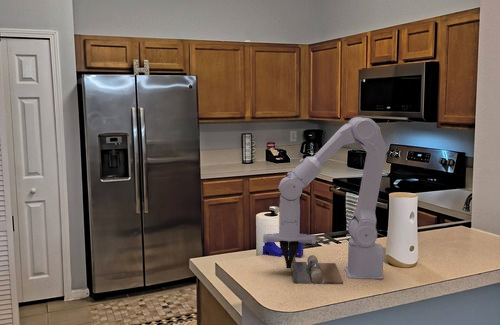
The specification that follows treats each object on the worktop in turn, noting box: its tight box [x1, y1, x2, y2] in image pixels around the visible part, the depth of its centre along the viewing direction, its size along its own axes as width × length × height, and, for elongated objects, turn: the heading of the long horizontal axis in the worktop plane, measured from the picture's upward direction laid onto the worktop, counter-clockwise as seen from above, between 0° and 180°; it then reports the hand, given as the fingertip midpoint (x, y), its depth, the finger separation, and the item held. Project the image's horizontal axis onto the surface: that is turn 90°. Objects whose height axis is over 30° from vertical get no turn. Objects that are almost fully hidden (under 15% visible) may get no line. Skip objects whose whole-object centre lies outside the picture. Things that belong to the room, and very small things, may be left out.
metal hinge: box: [290, 256, 321, 284], centre depth 134 cm, size 8×15×3 cm, turn 178°
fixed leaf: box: [306, 254, 344, 285], centre depth 134 cm, size 8×15×3 cm, turn 178°
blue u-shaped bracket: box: [262, 242, 304, 259], centre depth 151 cm, size 12×4×6 cm, turn 68°
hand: (288, 267), depth 135 cm, fingers closed
